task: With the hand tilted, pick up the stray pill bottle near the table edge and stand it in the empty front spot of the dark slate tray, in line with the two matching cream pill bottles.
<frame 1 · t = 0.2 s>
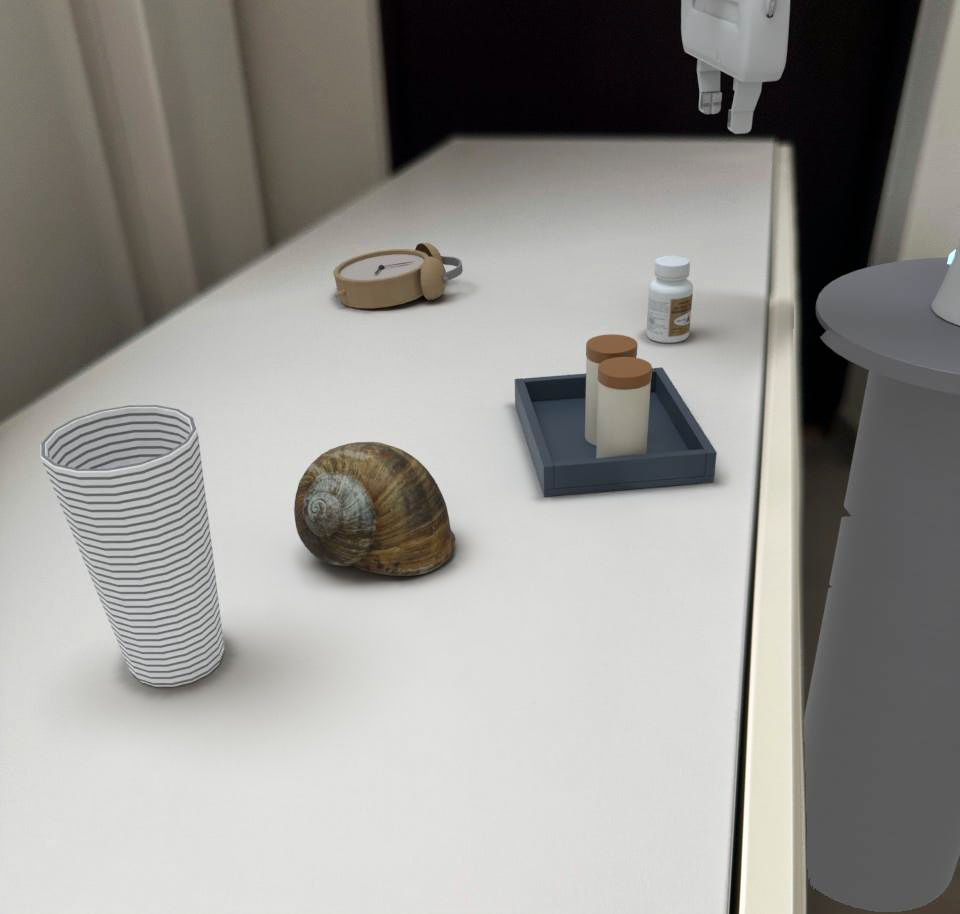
hand: (723, 122, 98), 20 cm above the dresser, tool pointing down, fingers open, 8 cm apart
alarm clock: (400, 295, 124), on the dresser
cup: (178, 661, 67), on the dresser
matching bottles: (614, 456, 88), resting on tray
seashell: (377, 554, 77), on the dresser
tray: (607, 441, 90), on the dresser
pill bottle: (667, 338, 109), on the dresser
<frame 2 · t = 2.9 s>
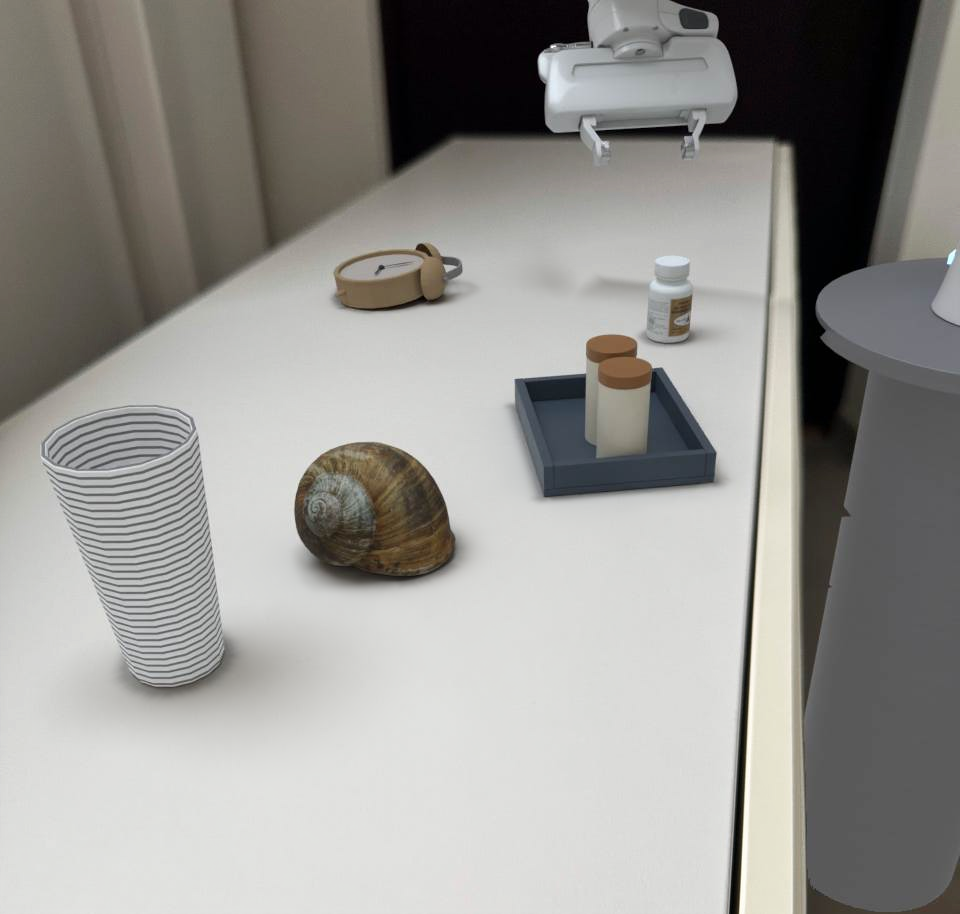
hand: (647, 159, 110), 15 cm above the dresser, tool tilted 45°, fingers open, 8 cm apart
nothing on the dresser moved.
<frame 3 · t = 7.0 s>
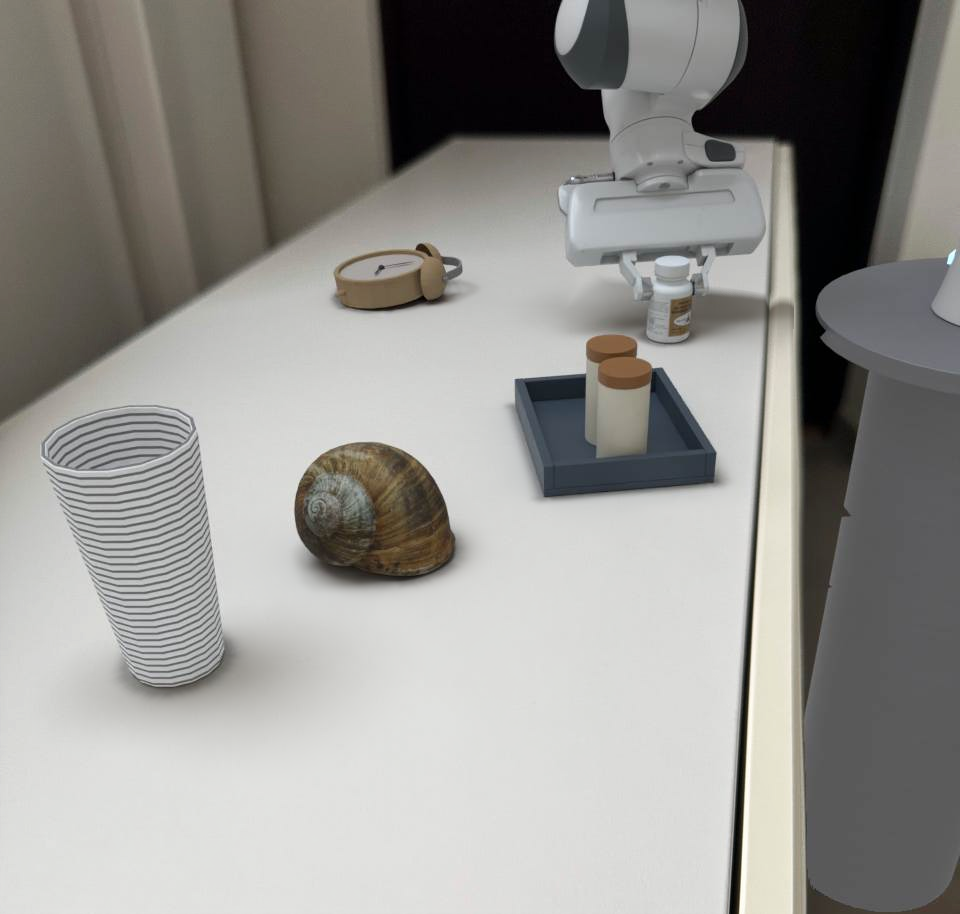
hand: (672, 296, 106), 4 cm above the dresser, tool tilted 45°, fingers closed on pill bottle, 4 cm apart
pill bottle: (667, 338, 109), on the dresser, touching gripper
everything else where it was.
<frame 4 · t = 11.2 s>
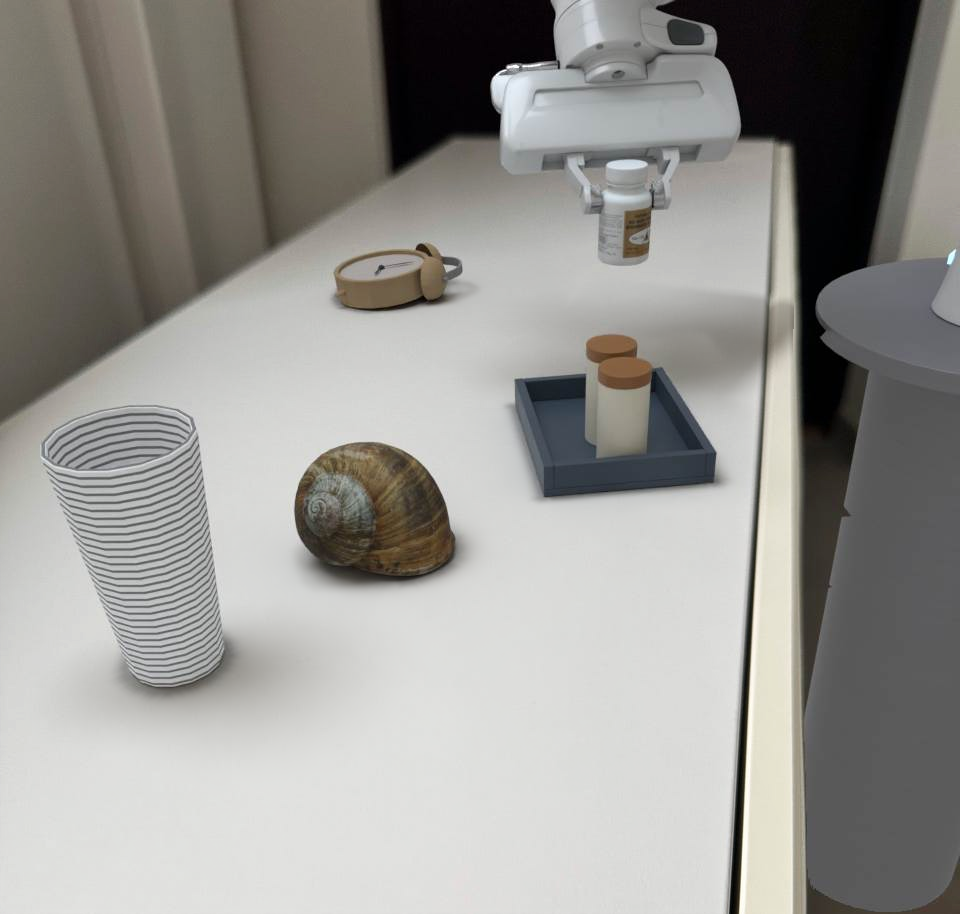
hand: (627, 208, 88), 16 cm above the dresser, tool tilted 45°, fingers closed on pill bottle, 4 cm apart
pill bottle: (623, 261, 91), point 12 cm above the dresser, touching gripper
everything else where it was.
when the fingers open (5 cm above the dresser, at t = 15.6 s): pill bottle stays where it is, resting on tray.
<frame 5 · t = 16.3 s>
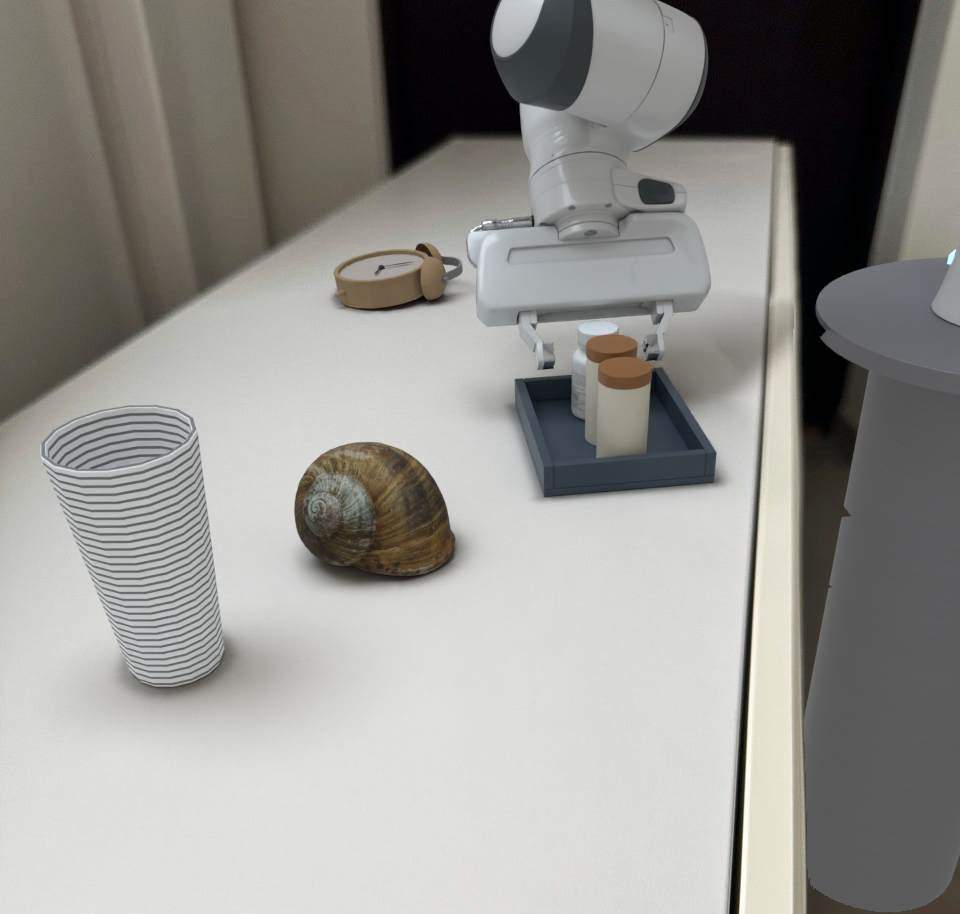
hand: (600, 362, 90), 5 cm above the dresser, tool tilted 45°, fingers open, 8 cm apart
pill bottle: (596, 414, 93), resting on tray
everything else where it was.
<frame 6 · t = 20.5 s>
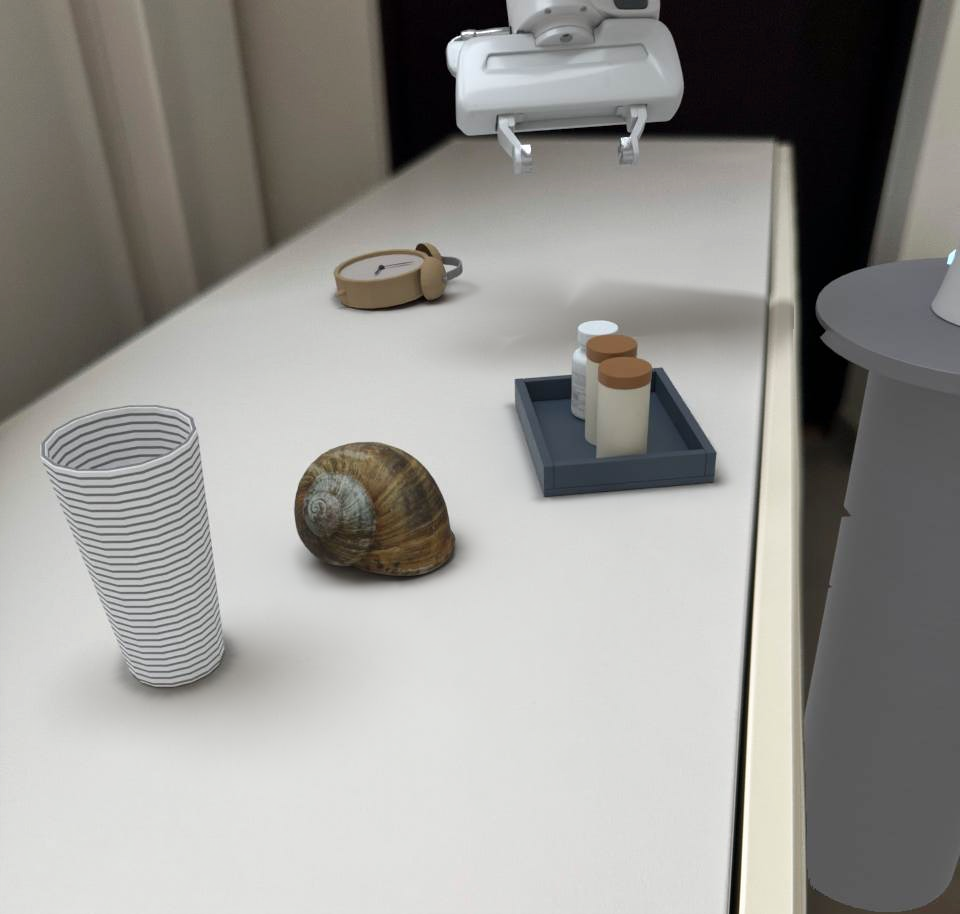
hand: (576, 165, 93), 18 cm above the dresser, tool tilted 45°, fingers open, 8 cm apart
nothing on the dresser moved.
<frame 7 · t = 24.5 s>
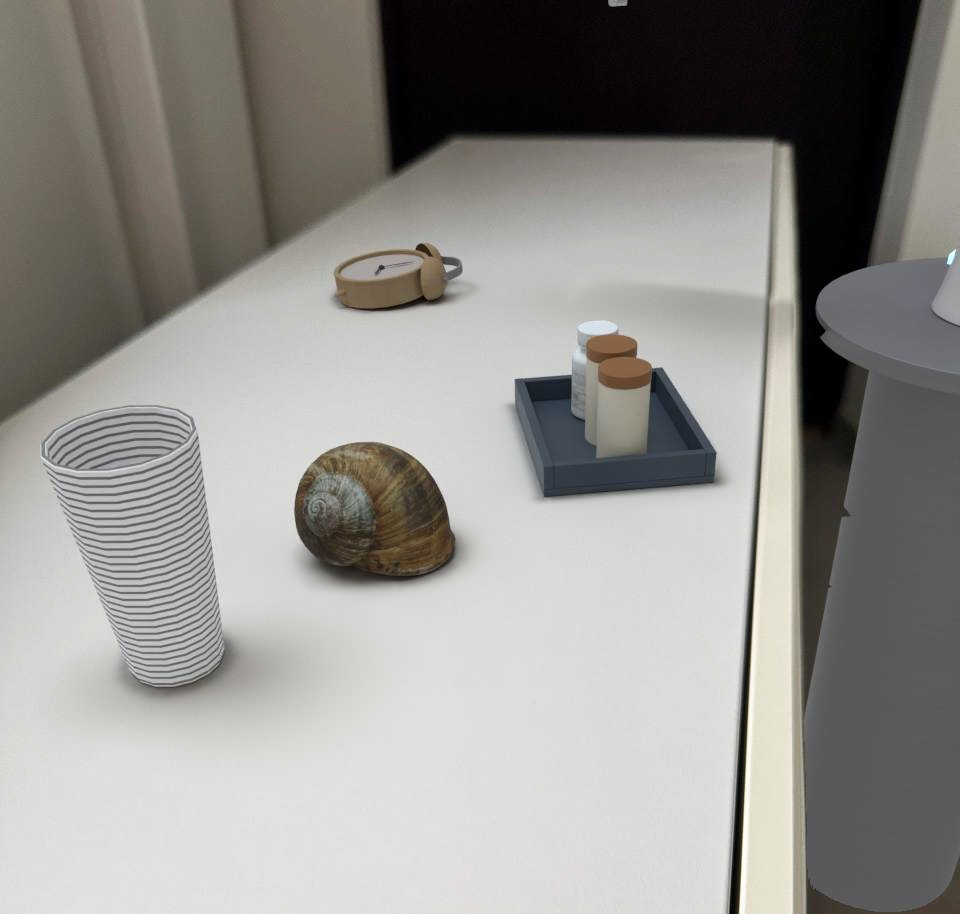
hand: (667, 2, 98), 29 cm above the dresser, tool pointing down, fingers open, 8 cm apart
nothing on the dresser moved.
at the end: pill bottle 0.3 cm from the target spot in the tray, point 0.4 cm above the tray's base; pill bottle tilted 0°; pill bottle 7.5 cm from the matching bottles (horizontally) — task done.
